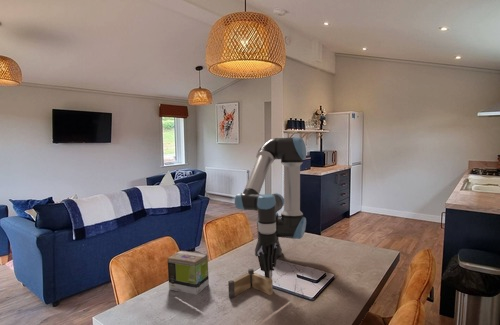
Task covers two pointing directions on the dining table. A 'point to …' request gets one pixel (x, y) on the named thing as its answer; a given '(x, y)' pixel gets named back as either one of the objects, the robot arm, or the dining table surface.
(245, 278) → the fixed fence panel
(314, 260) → the dining table surface
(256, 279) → the swing panel
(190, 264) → the tea box
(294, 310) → the dining table surface
